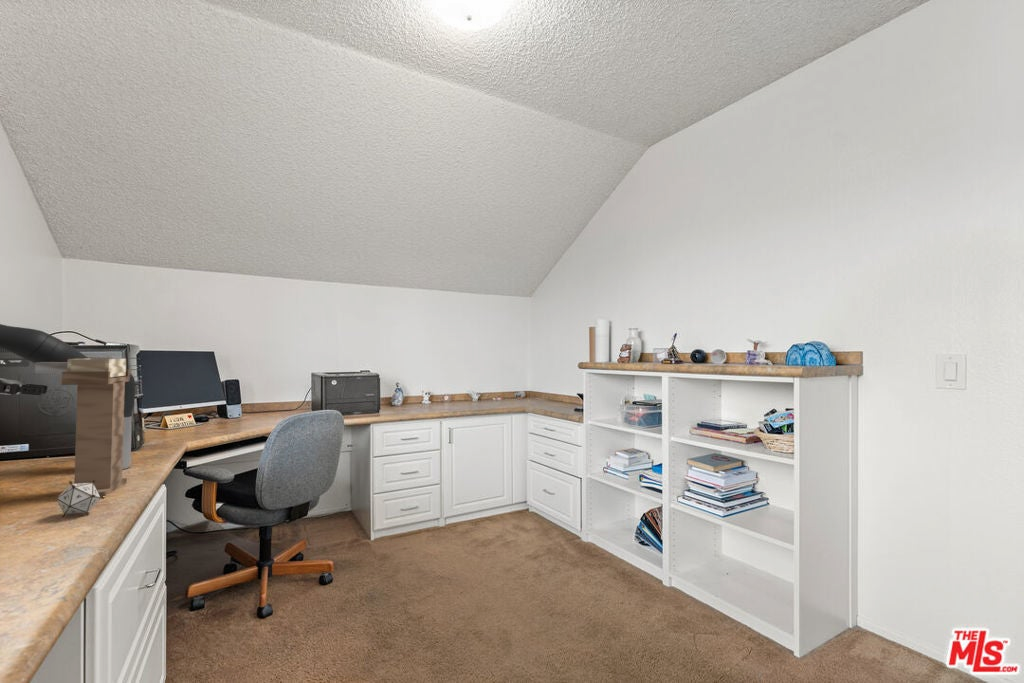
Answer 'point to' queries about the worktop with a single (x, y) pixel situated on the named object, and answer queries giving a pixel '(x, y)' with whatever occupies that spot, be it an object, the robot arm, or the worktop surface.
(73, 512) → the game die
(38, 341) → the robot arm
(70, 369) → the tray
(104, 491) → the stand
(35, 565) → the worktop surface
